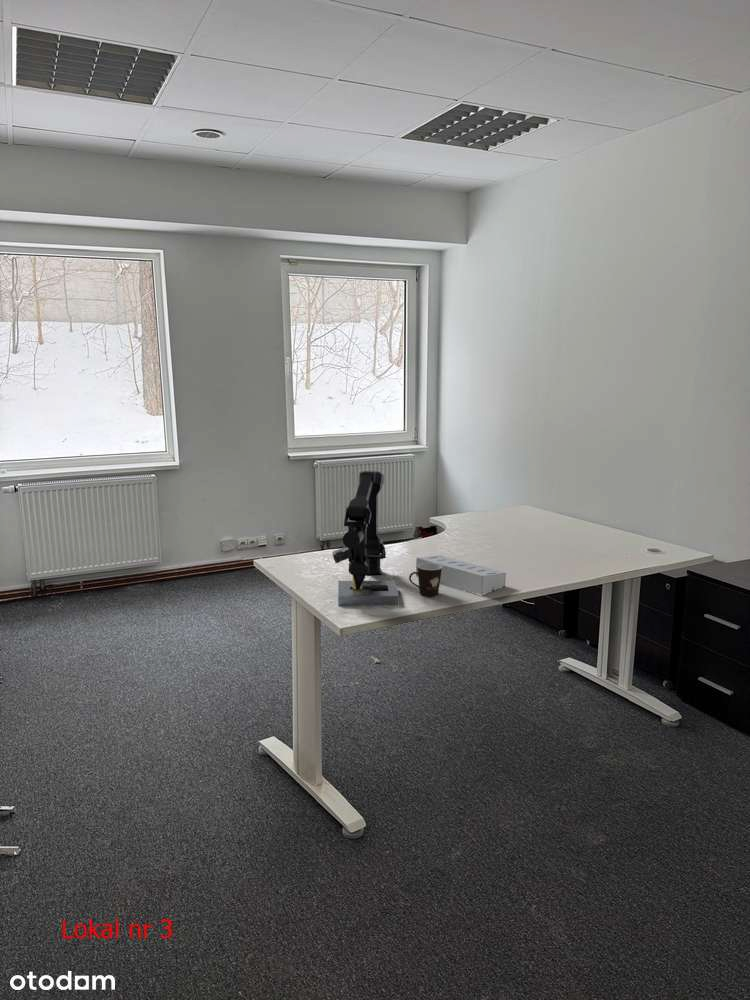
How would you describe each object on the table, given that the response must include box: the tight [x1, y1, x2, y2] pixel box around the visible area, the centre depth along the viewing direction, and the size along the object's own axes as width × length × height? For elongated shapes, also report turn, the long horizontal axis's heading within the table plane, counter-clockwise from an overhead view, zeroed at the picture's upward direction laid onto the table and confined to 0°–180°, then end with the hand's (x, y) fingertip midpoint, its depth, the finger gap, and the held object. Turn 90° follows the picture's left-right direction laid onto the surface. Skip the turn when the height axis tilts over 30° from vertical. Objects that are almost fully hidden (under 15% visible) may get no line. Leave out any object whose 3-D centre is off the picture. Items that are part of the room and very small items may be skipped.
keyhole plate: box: [337, 580, 400, 606], centre depth 238 cm, size 16×20×3 cm
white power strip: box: [415, 555, 507, 595], centre depth 256 cm, size 30×14×8 cm, turn 46°
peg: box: [352, 575, 362, 590], centre depth 238 cm, size 4×4×10 cm
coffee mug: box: [408, 563, 442, 598], centre depth 242 cm, size 12×9×10 cm
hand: (357, 584), depth 238 cm, fingers open, 9 cm apart
